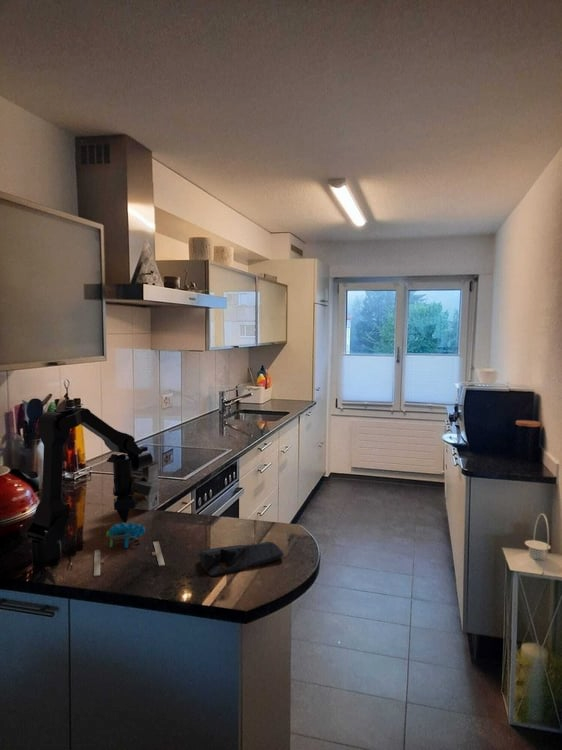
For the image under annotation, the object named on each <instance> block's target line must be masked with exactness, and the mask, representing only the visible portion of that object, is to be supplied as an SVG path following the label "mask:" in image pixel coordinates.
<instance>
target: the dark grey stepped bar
mask: <svg viewBox="0 0 562 750" xmlns="http://www.w3.org/2000/svg"><path fill="white" fill-rule="evenodd" d="M198 557H199V561H200V565H201V567H202V568H203V571H204V572H207V574H208V575H209V576H211V577H217V576H219V575H224V574H233V573H235V572H240V571H244V570H246V569H249V568H254V567H259V566H261V565H265V564H269V562H270V563H273V562H275V561H277V560H279V559H282V558H283V557H284V552H283V550H282V549H281V548H280V547H279V546H278V545H277V544H276V543H275V542H271V541H264V542H260V543H258V542H257V543H253V544H244V545H242V544H238V545H231V546H229V545H228V546H222V547H221V546H220V547H219V546H218V547H213V548H207V549H205V550H202V551H200V552H198ZM220 564H225V566H226V567H221V565H220Z"/></svg>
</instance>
